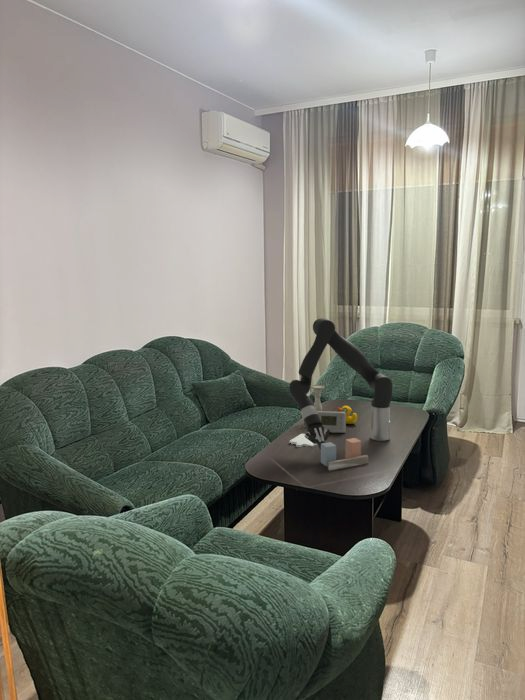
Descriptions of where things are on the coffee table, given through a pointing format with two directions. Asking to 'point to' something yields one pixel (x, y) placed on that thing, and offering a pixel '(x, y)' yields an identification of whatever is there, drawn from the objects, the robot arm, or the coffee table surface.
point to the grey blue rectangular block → (328, 453)
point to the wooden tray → (347, 462)
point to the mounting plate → (301, 441)
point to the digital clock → (333, 421)
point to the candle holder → (317, 396)
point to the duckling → (348, 410)
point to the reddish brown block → (353, 448)
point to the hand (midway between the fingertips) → (324, 450)
